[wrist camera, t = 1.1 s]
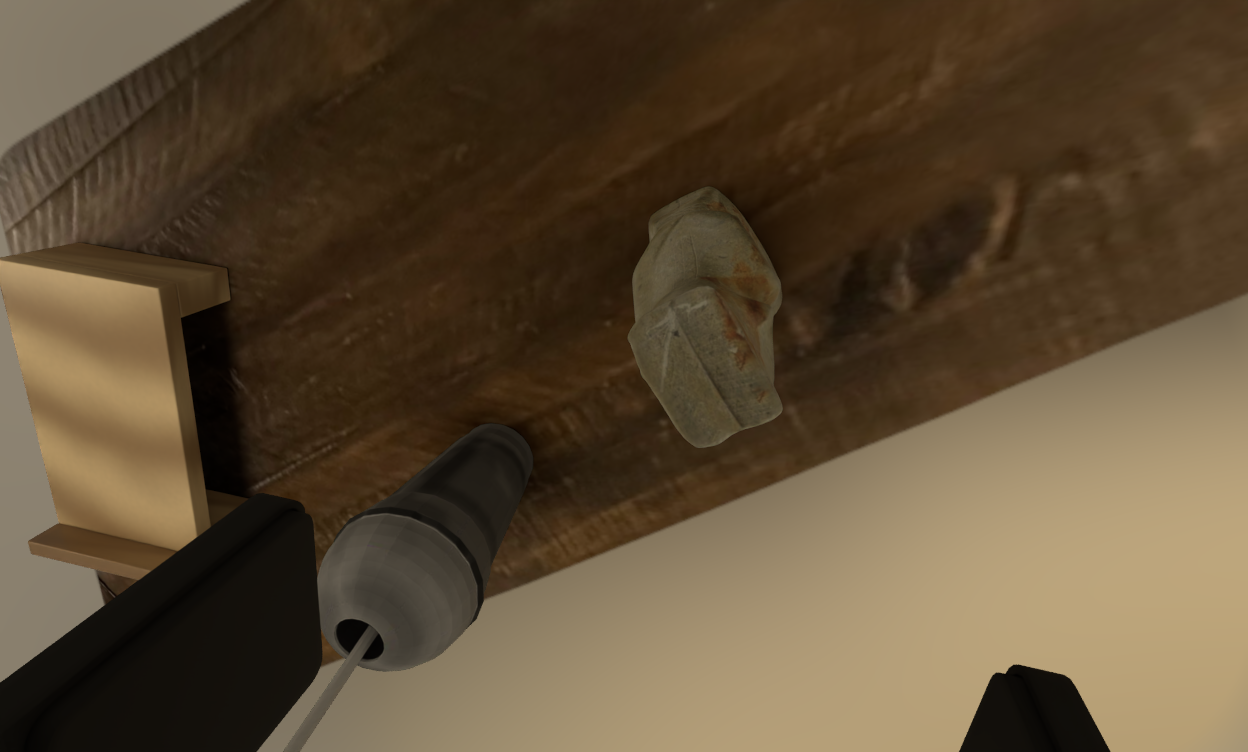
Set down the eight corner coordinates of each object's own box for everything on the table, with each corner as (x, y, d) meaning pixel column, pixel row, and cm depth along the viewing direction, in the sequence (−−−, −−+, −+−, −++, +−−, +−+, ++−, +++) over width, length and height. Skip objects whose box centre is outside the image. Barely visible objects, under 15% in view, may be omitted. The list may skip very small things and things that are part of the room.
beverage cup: (566, 421, 39) (395, 696, 21) (544, 523, 42) (377, 843, 24) (448, 387, 40) (181, 623, 21) (434, 489, 43) (189, 775, 24)
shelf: (78, 241, 41) (-49, 266, 34) (227, 267, 40) (124, 298, 33) (128, 494, 48) (30, 554, 41) (256, 523, 46) (176, 589, 40)
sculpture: (693, 341, 36) (653, 484, 22) (635, 215, 34) (552, 285, 20) (799, 298, 34) (827, 425, 20) (744, 163, 32) (733, 202, 18)
